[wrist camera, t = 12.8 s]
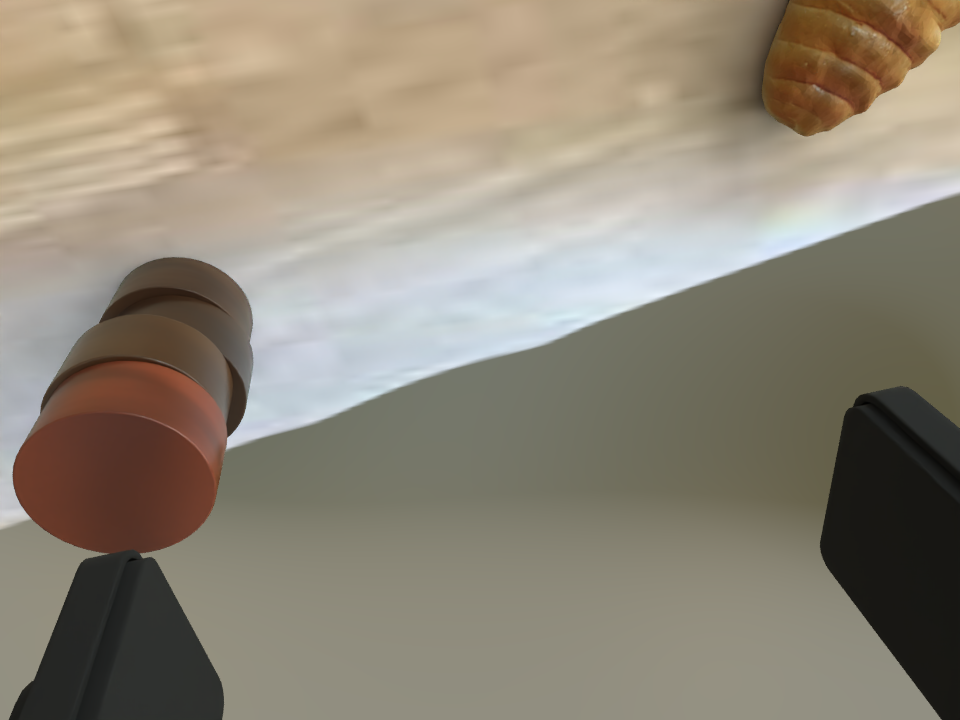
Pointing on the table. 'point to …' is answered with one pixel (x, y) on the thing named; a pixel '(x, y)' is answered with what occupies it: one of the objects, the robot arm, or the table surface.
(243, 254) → the table surface
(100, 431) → the reddish-brown squat cylinder
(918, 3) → the pastry
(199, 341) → the stacked discs
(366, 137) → the table surface
